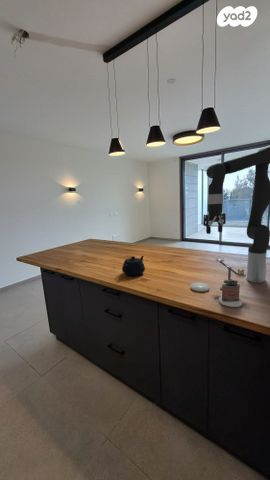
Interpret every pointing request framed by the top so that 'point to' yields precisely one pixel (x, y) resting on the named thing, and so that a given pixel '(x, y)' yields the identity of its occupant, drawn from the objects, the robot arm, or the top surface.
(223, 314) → the top surface
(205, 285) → the dish high side
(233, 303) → the dish low side
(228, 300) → the lighter
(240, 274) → the balance
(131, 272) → the teapot
